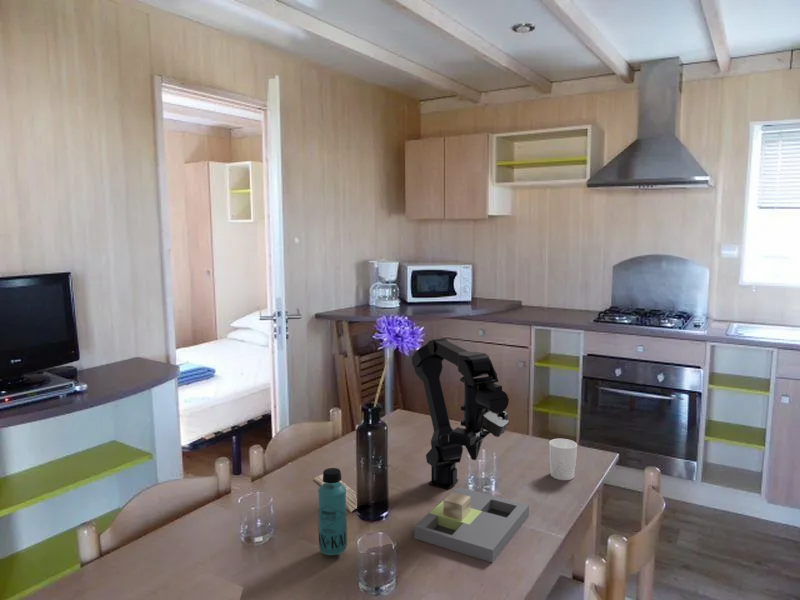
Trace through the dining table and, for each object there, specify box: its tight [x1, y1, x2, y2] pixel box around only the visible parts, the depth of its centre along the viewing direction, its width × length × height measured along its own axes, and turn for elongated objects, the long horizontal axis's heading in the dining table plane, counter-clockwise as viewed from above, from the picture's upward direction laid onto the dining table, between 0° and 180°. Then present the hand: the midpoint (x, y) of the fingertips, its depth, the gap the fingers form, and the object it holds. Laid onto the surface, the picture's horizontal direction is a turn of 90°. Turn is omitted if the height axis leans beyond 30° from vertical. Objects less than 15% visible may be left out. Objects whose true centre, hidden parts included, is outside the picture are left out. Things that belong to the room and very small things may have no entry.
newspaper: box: [313, 473, 358, 513], centre depth 164 cm, size 24×7×2 cm, turn 32°
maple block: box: [442, 491, 471, 521], centre depth 145 cm, size 5×5×4 cm
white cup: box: [548, 438, 578, 481], centre depth 173 cm, size 8×8×10 cm
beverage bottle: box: [317, 467, 348, 556], centre depth 133 cm, size 6×7×20 cm
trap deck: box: [413, 487, 530, 564], centre depth 145 cm, size 20×24×3 cm
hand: (474, 459), depth 154 cm, fingers closed
